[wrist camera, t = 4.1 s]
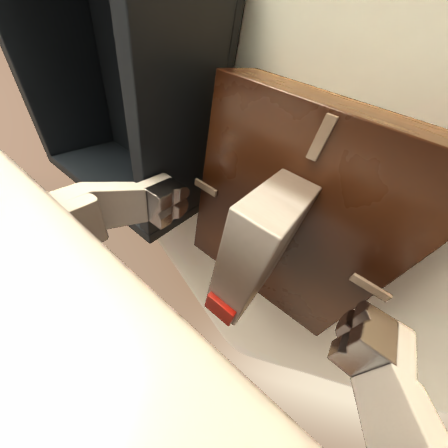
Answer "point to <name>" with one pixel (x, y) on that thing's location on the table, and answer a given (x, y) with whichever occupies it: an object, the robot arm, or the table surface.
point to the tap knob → (257, 241)
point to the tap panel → (326, 188)
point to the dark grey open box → (122, 84)
